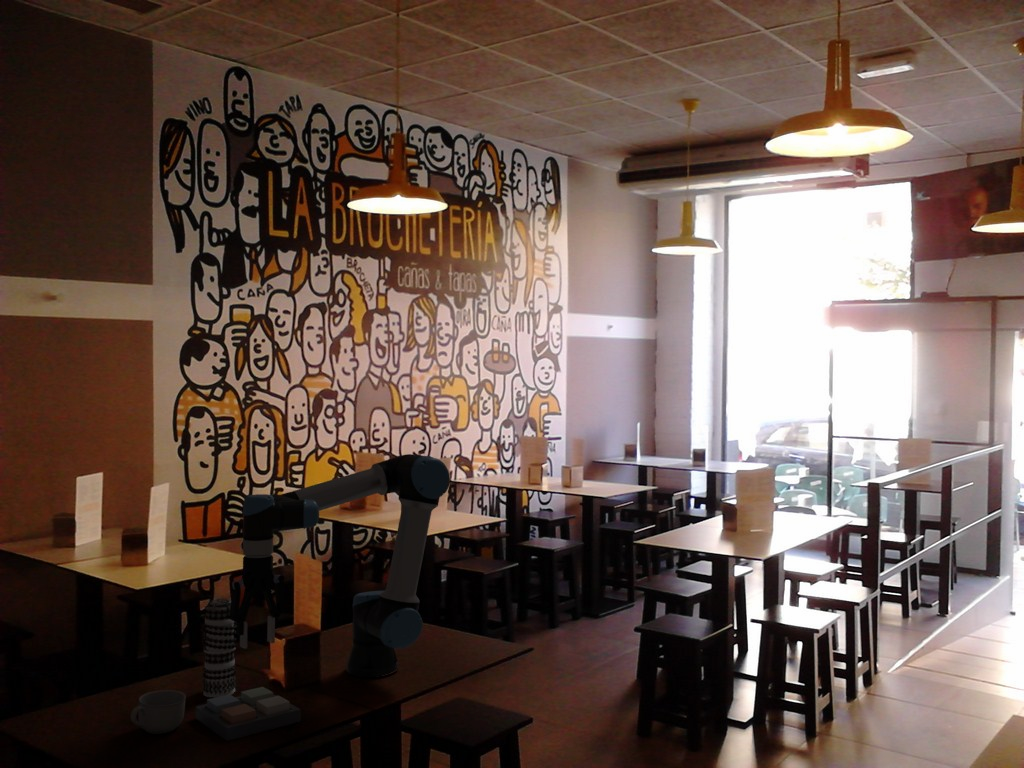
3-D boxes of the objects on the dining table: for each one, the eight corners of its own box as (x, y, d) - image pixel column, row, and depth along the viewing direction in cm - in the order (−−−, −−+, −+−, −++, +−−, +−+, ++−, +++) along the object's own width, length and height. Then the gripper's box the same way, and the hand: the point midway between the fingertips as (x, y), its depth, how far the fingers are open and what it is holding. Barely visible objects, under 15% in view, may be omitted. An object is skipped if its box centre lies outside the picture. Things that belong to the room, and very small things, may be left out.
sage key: (262, 698, 231) (262, 686, 232) (273, 704, 227) (273, 692, 227) (240, 703, 227) (240, 691, 228) (251, 709, 223) (251, 697, 223)
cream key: (278, 707, 225) (278, 695, 225) (289, 713, 220) (289, 701, 220) (256, 712, 221) (256, 700, 221) (267, 719, 216) (267, 707, 216)
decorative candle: (194, 693, 240) (195, 601, 240) (223, 684, 248) (223, 595, 248) (214, 700, 235) (215, 606, 235) (243, 691, 242) (244, 599, 243)
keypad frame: (266, 701, 234) (266, 690, 234) (300, 721, 220) (300, 709, 220) (195, 718, 222) (195, 706, 222) (227, 741, 207) (227, 728, 207)
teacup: (171, 718, 222) (171, 686, 222) (194, 728, 215) (194, 695, 215) (116, 734, 211) (117, 700, 211) (139, 746, 204) (139, 711, 205)
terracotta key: (244, 715, 219) (245, 703, 219) (255, 722, 214) (255, 710, 214) (221, 721, 215) (221, 709, 215) (232, 728, 210) (232, 716, 210)
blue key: (229, 706, 226) (229, 694, 226) (239, 712, 221) (239, 700, 221) (206, 711, 222) (206, 699, 222) (216, 718, 217) (216, 706, 217)
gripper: (286, 548, 237) (285, 634, 237) (214, 557, 224) (214, 648, 224) (299, 552, 231) (299, 640, 231) (227, 561, 218) (226, 655, 218)
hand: (257, 644), depth 227 cm, fingers open, 7 cm apart
